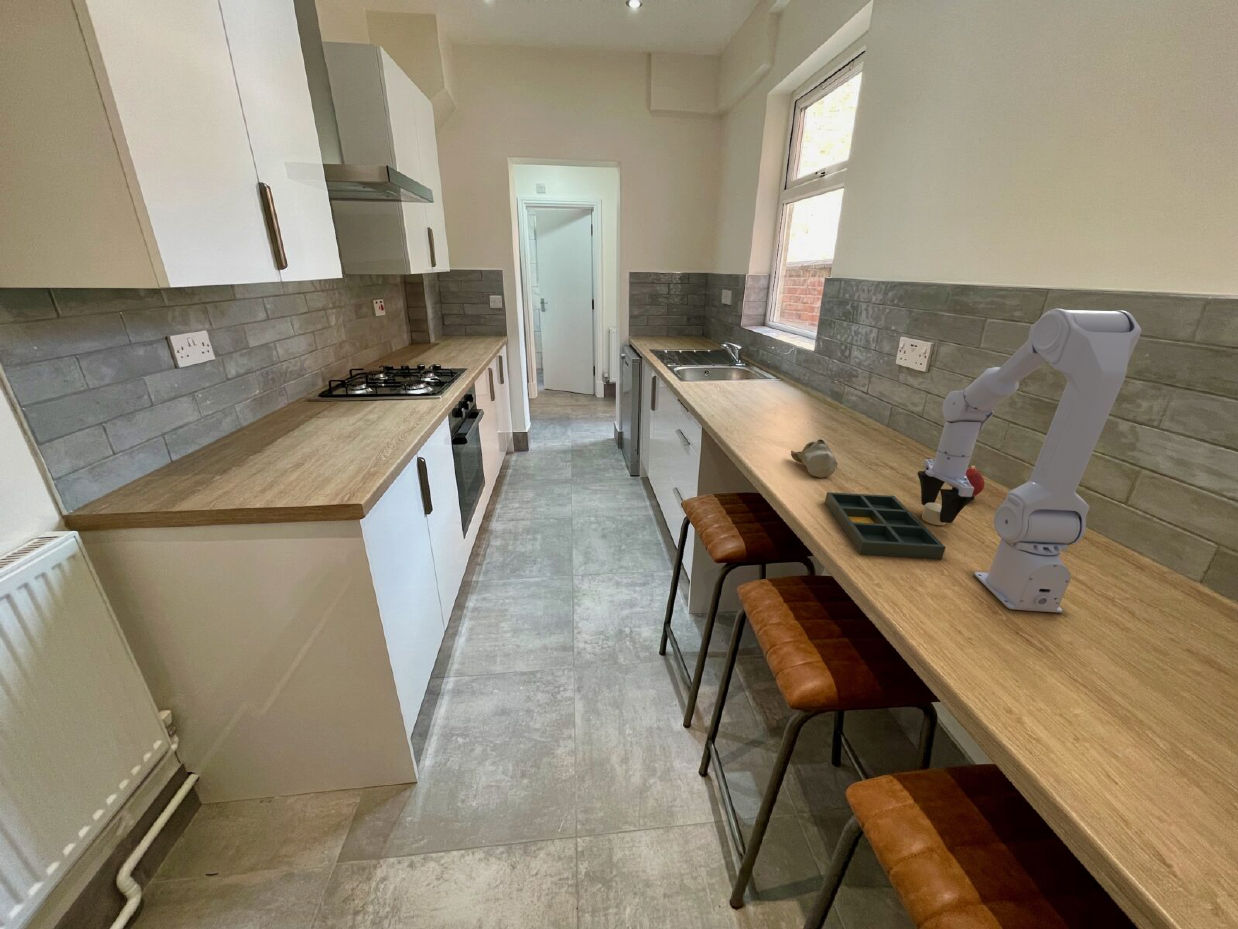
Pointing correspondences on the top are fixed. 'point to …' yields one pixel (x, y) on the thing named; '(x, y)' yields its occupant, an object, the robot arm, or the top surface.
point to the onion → (975, 480)
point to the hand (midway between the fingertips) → (936, 513)
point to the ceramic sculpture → (817, 459)
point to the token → (932, 513)
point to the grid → (883, 526)
